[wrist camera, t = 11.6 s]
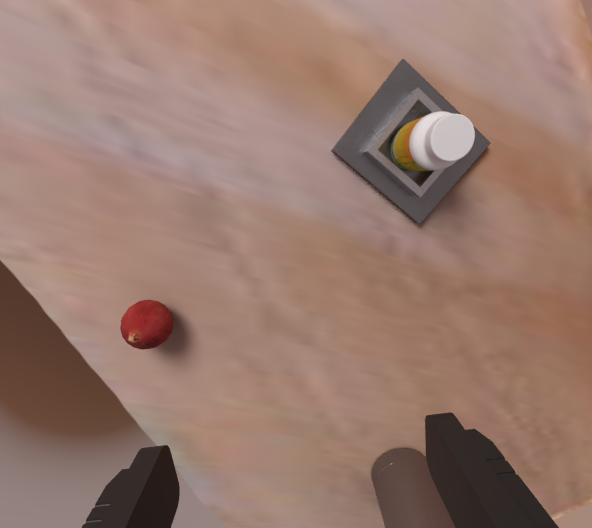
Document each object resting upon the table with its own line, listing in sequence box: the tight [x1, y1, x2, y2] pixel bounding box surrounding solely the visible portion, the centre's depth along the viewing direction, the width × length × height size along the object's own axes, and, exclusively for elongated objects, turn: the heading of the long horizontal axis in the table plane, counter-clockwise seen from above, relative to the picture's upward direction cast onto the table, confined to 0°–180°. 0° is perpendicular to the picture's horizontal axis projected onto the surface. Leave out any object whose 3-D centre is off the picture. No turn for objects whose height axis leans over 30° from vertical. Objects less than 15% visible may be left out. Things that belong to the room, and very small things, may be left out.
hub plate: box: [331, 59, 490, 224], centre depth 38 cm, size 14×12×3 cm
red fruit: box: [121, 300, 173, 349], centre depth 40 cm, size 6×6×8 cm
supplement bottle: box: [391, 111, 475, 171], centre depth 34 cm, size 5×5×10 cm
